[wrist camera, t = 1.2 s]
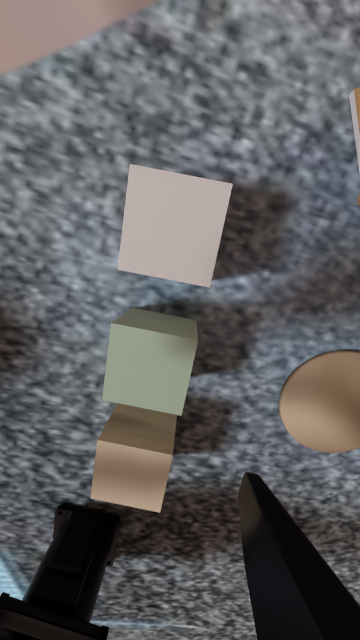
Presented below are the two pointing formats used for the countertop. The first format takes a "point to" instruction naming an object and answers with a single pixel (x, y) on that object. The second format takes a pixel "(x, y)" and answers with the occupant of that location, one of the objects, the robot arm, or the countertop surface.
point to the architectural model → (356, 123)
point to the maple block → (134, 457)
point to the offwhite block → (172, 225)
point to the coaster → (324, 402)
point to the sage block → (150, 360)
